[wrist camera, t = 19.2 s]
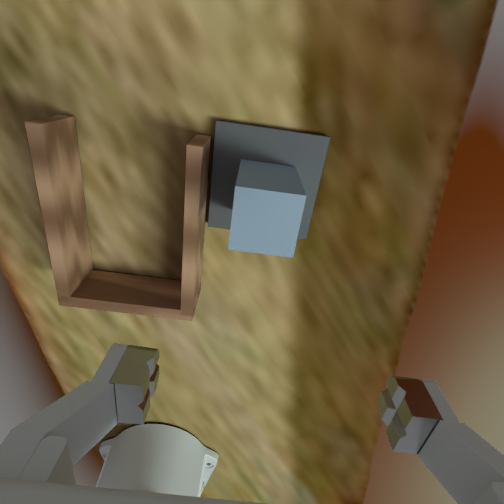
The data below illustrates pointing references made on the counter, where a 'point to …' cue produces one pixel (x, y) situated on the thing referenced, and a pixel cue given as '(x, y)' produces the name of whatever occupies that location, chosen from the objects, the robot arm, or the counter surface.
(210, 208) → the pad
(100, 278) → the frame
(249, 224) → the block
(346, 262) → the counter surface
